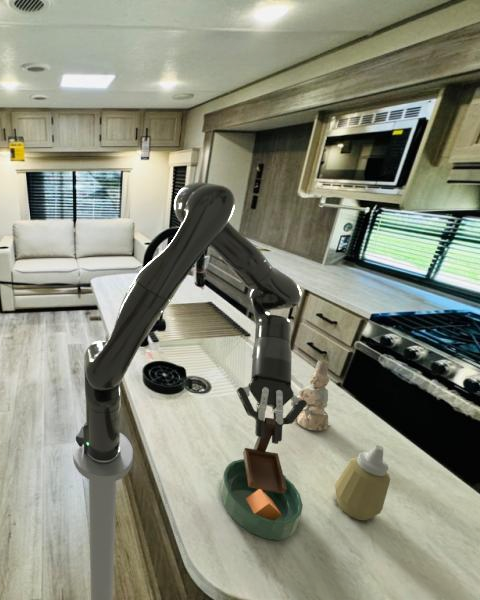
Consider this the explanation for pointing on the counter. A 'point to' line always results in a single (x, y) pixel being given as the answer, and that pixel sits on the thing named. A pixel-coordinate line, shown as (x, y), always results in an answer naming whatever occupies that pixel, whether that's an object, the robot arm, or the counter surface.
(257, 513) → the block
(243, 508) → the green pet bowl
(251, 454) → the scoop
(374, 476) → the squeeze bottle
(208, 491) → the counter surface
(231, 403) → the counter surface
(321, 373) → the figurine
